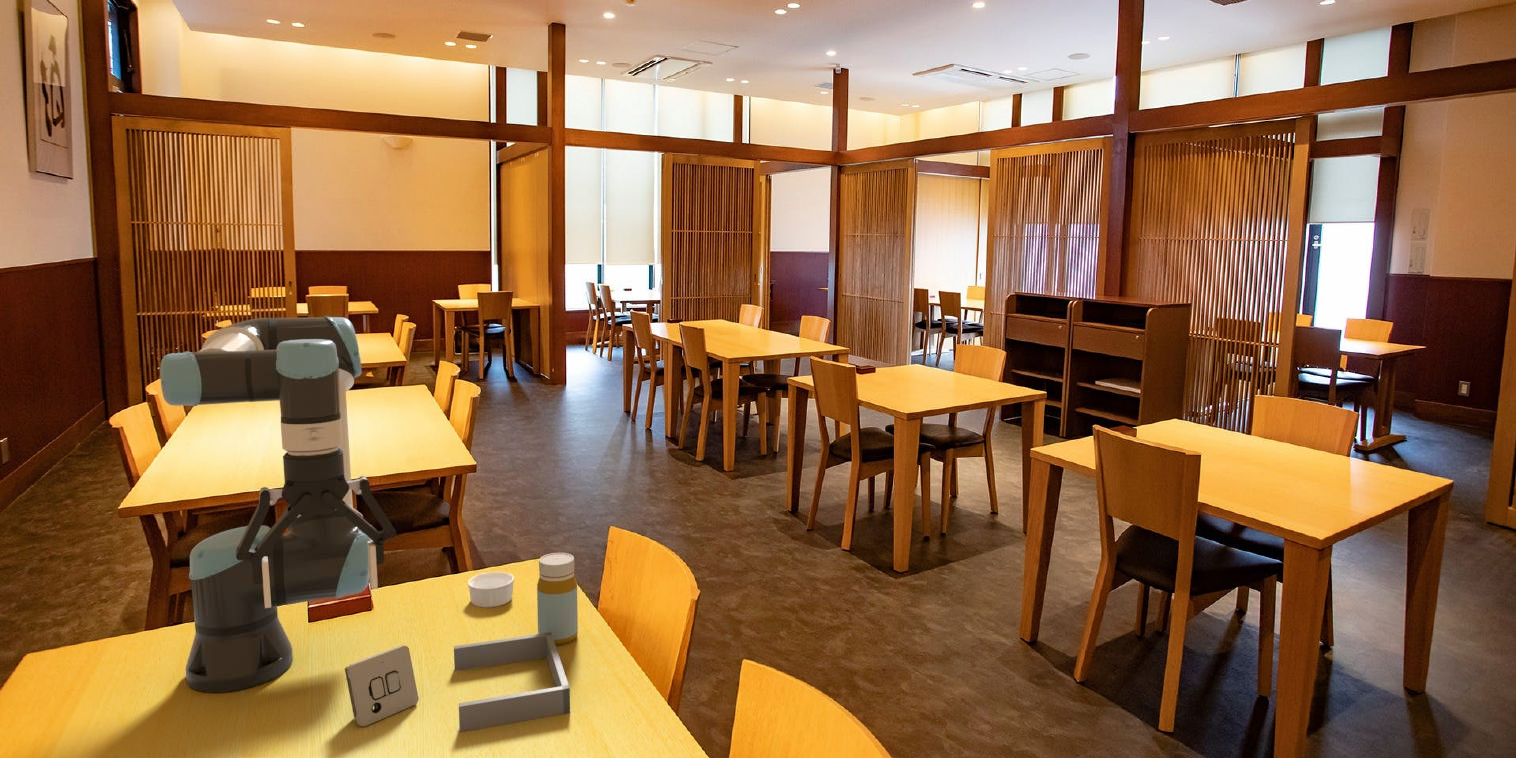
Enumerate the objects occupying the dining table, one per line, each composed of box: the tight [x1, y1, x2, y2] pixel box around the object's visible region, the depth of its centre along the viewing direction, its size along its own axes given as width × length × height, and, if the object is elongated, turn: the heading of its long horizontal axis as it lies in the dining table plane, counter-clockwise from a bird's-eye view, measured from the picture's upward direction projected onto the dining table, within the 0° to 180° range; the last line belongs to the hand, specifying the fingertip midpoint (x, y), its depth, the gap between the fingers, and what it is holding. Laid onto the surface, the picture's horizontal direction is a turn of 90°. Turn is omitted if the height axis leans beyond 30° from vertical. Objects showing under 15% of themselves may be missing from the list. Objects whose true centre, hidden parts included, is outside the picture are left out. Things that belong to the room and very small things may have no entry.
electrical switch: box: [344, 644, 420, 727], centre depth 131 cm, size 9×5×9 cm, turn 141°
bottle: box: [536, 552, 579, 646], centre depth 155 cm, size 7×7×15 cm
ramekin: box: [467, 571, 515, 608], centre depth 171 cm, size 9×9×4 cm
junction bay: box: [453, 632, 571, 733], centre depth 138 cm, size 20×16×4 cm
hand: (322, 595), depth 123 cm, fingers open, 13 cm apart
